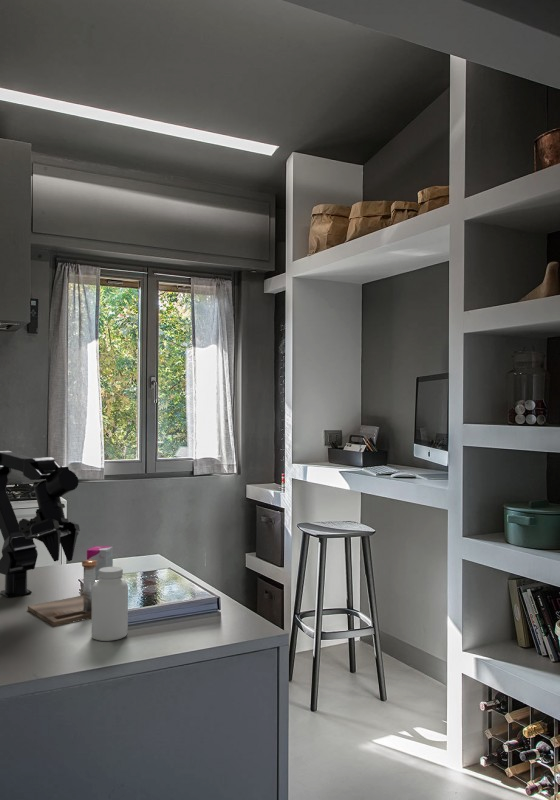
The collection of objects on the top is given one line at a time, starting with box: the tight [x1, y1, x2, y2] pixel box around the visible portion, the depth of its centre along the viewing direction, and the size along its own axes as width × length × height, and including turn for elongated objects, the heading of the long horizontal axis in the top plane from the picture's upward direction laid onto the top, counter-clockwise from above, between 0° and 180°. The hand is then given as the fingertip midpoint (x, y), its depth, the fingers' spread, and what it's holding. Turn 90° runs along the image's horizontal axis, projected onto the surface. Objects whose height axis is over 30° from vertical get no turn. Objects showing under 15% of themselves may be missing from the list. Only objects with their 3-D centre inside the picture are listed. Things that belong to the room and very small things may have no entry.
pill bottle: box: [90, 566, 129, 642], centre depth 149 cm, size 8×8×15 cm
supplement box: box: [86, 546, 114, 580], centre depth 188 cm, size 6×6×12 cm
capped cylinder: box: [81, 559, 97, 614], centre depth 163 cm, size 4×4×13 cm
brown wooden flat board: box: [27, 595, 92, 627], centre depth 166 cm, size 16×16×1 cm
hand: (63, 560), depth 170 cm, fingers open, 9 cm apart
